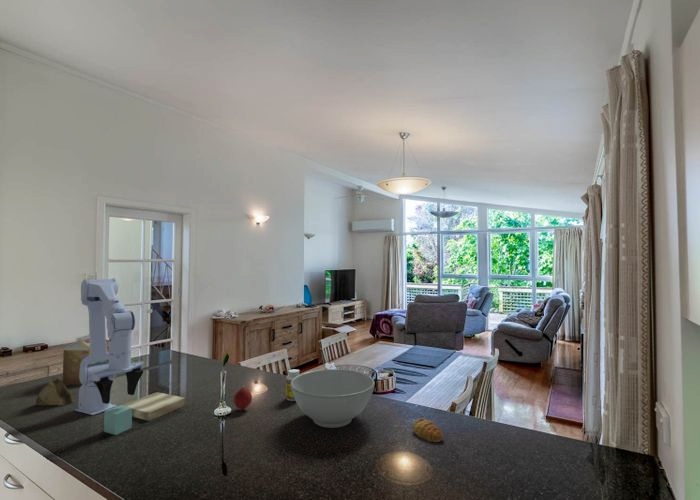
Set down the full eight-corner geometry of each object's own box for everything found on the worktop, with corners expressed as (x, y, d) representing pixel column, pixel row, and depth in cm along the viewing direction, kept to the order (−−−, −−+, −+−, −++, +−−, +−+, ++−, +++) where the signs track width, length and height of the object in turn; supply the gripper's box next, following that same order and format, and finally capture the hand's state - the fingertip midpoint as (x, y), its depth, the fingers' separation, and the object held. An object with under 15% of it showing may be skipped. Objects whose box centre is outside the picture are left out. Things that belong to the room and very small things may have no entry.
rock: (24, 400, 126) (37, 401, 122) (41, 376, 131) (55, 376, 127) (54, 411, 133) (68, 413, 128) (70, 387, 138) (84, 388, 134)
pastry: (449, 440, 104) (449, 426, 104) (432, 446, 101) (432, 432, 101) (426, 427, 112) (426, 414, 112) (409, 433, 109) (409, 420, 109)
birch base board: (119, 413, 121) (120, 405, 122) (157, 399, 134) (157, 392, 134) (149, 420, 116) (149, 412, 116) (185, 405, 129) (185, 397, 129)
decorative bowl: (391, 418, 118) (391, 380, 119) (331, 449, 99) (331, 403, 99) (333, 397, 136) (333, 364, 137) (272, 420, 117) (273, 381, 117)
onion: (246, 414, 121) (246, 389, 121) (230, 412, 122) (231, 388, 123) (254, 407, 127) (254, 384, 127) (239, 406, 128) (239, 382, 128)
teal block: (104, 431, 108) (104, 411, 109) (120, 425, 113) (121, 405, 113) (115, 435, 106) (115, 414, 107) (131, 428, 111) (132, 407, 111)
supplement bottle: (283, 400, 133) (283, 372, 133) (289, 395, 139) (289, 368, 139) (298, 402, 132) (298, 373, 132) (303, 396, 137) (303, 369, 138)
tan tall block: (88, 385, 149) (89, 337, 150) (62, 384, 149) (63, 337, 150) (105, 377, 160) (106, 333, 161) (81, 376, 160) (83, 332, 161)
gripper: (104, 359, 102) (102, 409, 102) (151, 348, 115) (150, 392, 115) (88, 357, 105) (86, 405, 105) (135, 346, 118) (134, 389, 118)
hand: (118, 398), depth 110 cm, fingers open, 7 cm apart
